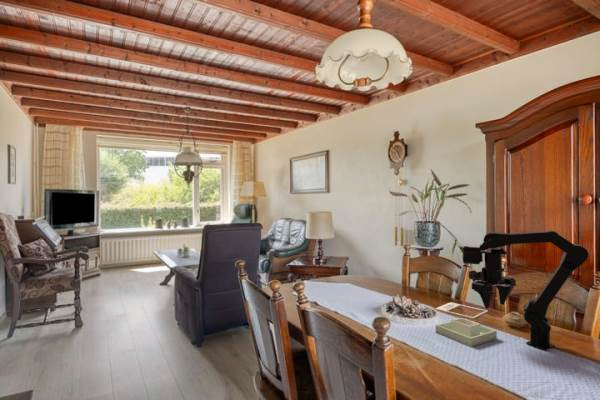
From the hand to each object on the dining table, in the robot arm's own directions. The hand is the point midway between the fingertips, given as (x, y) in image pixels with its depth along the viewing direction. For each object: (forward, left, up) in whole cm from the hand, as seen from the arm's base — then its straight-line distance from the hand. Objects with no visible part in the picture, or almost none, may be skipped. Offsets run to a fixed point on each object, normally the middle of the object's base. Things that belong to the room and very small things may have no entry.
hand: (494, 306), depth 131 cm
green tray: (+8, -7, -12) cm, 16 cm away
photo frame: (-17, -28, -13) cm, 35 cm away
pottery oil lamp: (-20, -4, -12) cm, 24 cm away
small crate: (+8, -7, -11) cm, 15 cm away
